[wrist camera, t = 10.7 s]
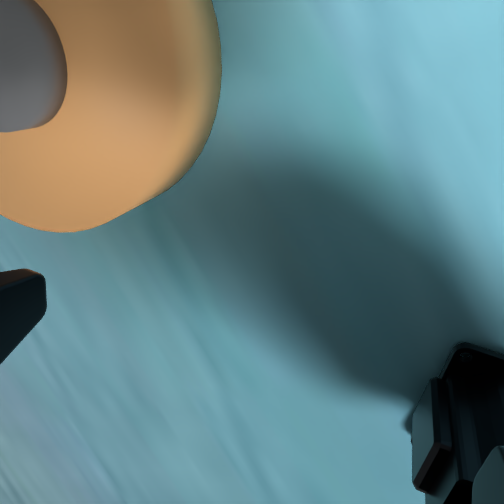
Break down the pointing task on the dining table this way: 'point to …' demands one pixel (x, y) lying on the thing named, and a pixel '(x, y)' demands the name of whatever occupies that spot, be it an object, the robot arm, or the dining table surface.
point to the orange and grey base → (101, 105)
